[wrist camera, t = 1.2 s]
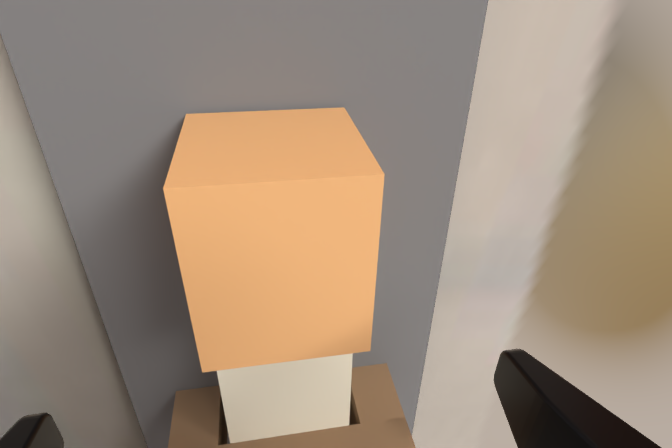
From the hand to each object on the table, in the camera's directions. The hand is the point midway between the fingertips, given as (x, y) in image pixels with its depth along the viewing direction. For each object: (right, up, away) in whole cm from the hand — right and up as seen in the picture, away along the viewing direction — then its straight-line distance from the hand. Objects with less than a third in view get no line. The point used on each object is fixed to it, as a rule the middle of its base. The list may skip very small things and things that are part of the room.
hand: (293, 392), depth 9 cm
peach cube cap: (-1, +5, +7) cm, 8 cm away
